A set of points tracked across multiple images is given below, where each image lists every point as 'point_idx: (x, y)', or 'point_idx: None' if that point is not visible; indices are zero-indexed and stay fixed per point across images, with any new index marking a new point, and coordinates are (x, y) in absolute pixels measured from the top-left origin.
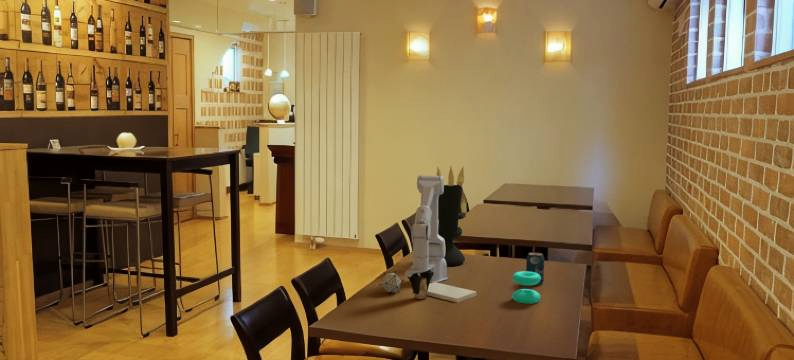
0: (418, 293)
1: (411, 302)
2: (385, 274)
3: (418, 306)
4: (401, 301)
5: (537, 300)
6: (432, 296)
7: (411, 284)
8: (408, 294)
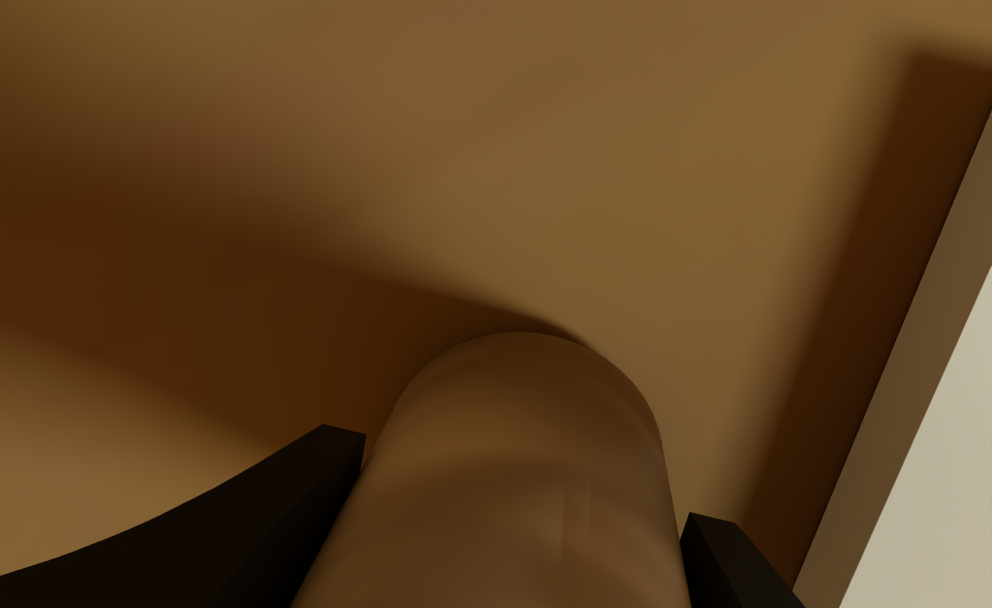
0: None
1: (182, 401)
2: None
3: None
4: (104, 184)
5: None
6: None
7: (135, 540)
8: (711, 32)
